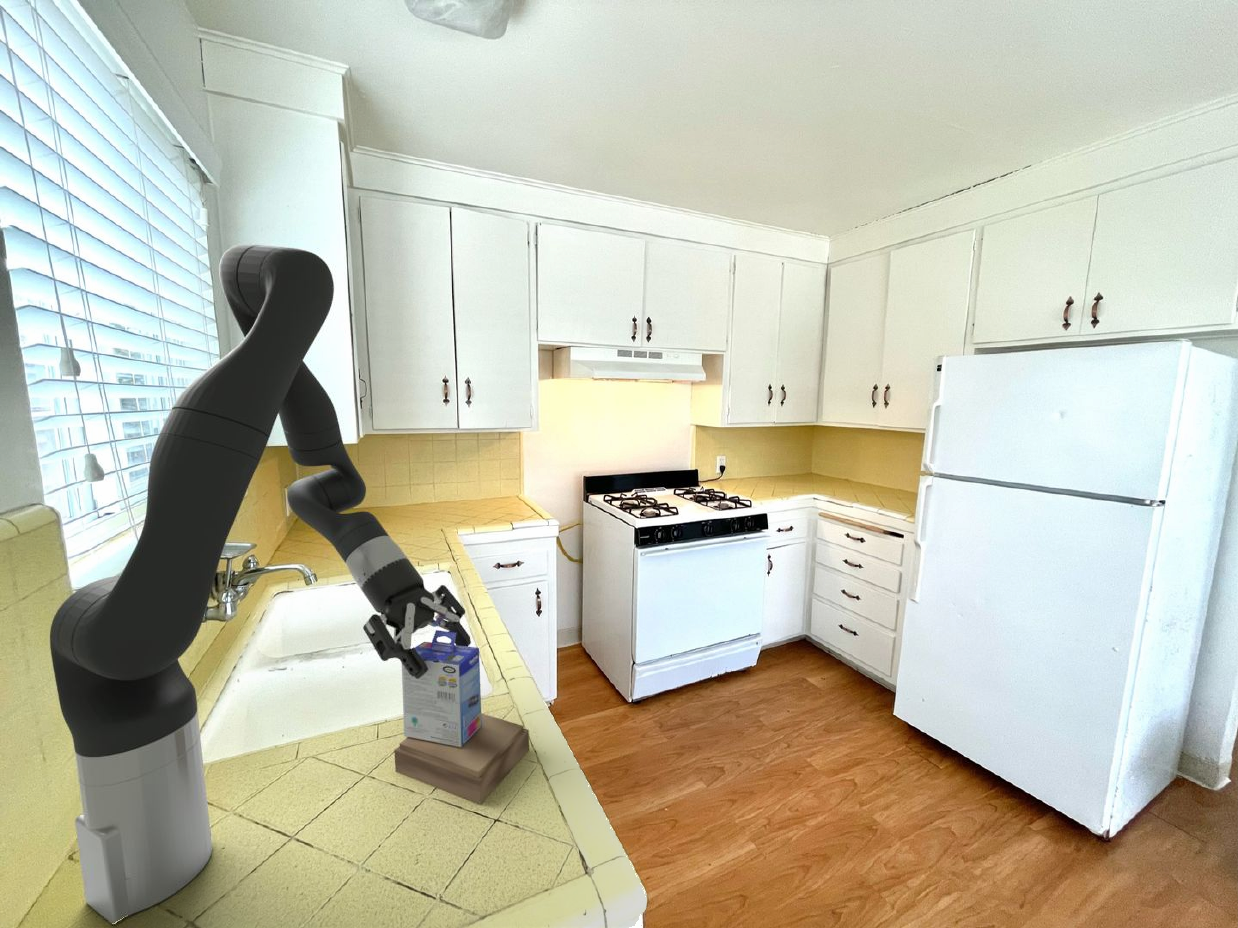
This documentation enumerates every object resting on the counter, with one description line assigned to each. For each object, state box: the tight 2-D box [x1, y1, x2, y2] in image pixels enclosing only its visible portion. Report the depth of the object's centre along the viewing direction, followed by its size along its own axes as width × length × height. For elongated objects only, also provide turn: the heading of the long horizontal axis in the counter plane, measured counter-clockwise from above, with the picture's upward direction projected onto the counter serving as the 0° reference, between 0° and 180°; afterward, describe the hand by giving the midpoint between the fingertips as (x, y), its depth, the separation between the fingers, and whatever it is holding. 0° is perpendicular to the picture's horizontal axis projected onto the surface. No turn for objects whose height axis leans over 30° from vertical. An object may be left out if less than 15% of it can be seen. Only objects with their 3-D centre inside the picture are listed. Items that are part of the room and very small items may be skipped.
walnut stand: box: [393, 712, 530, 805], centre depth 69 cm, size 11×15×4 cm
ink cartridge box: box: [401, 629, 482, 747], centre depth 69 cm, size 10×6×14 cm, turn 75°
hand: (446, 660), depth 69 cm, fingers open, 8 cm apart
